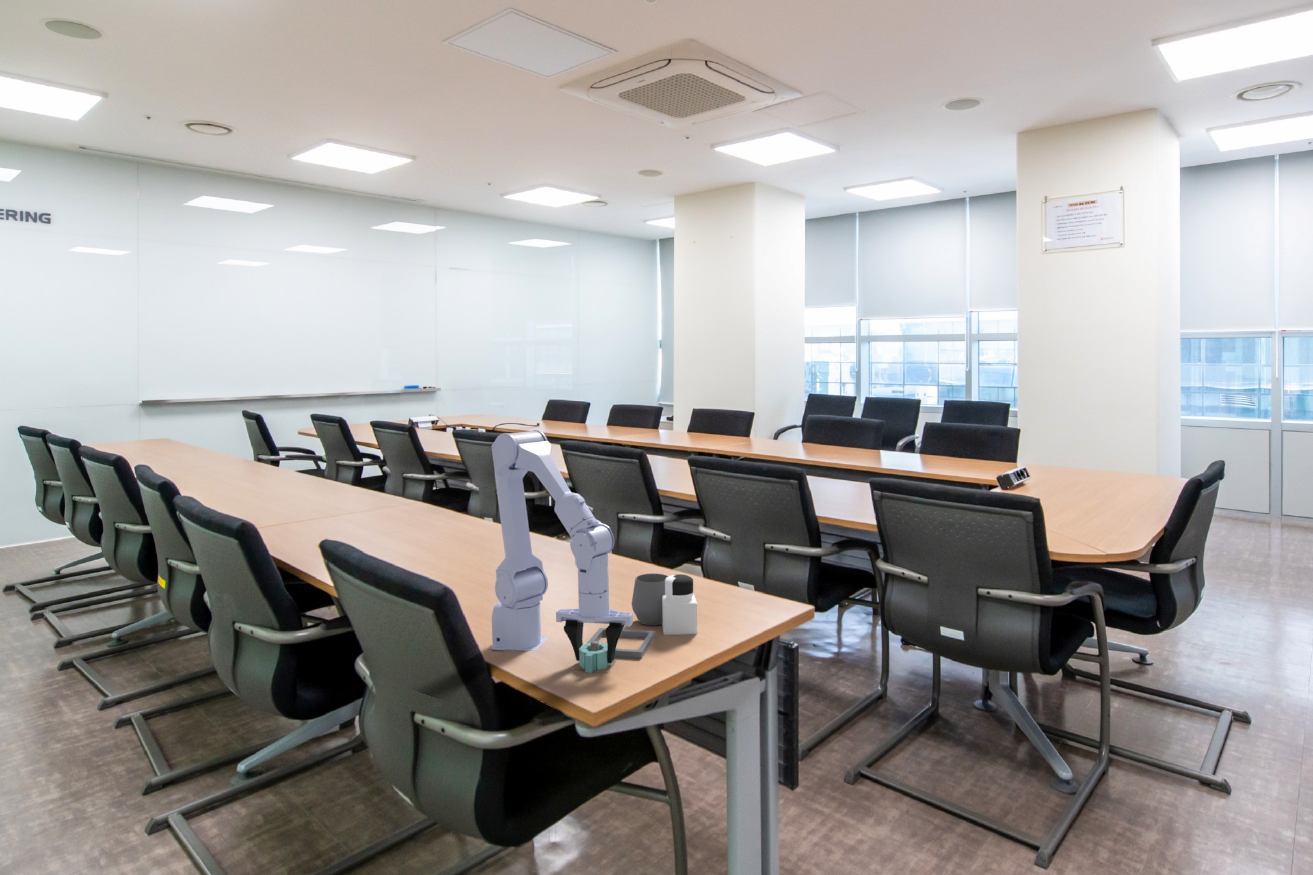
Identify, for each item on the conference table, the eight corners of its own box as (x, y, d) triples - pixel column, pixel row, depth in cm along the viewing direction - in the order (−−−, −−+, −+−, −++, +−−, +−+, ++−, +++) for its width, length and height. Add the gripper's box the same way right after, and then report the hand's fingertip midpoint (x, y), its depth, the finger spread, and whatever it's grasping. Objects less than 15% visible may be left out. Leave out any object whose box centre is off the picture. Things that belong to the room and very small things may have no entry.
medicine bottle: (694, 625, 168) (694, 571, 167) (697, 636, 160) (697, 580, 159) (662, 626, 167) (661, 572, 166) (663, 637, 160) (663, 581, 159)
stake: (571, 673, 142) (571, 648, 142) (583, 659, 149) (582, 635, 148) (607, 675, 140) (607, 650, 140) (618, 661, 147) (617, 637, 147)
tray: (582, 656, 150) (582, 648, 150) (600, 636, 162) (599, 627, 161) (641, 661, 147) (641, 652, 147) (655, 639, 159) (655, 631, 159)
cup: (637, 630, 165) (636, 585, 164) (627, 617, 174) (626, 574, 173) (679, 626, 167) (679, 581, 166) (667, 613, 176) (666, 570, 175)
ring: (585, 657, 148) (585, 641, 148) (613, 659, 147) (613, 643, 146) (574, 671, 141) (573, 654, 141) (603, 673, 140) (602, 656, 140)
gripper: (549, 594, 141) (551, 665, 142) (625, 598, 138) (626, 670, 139) (562, 583, 148) (564, 651, 149) (634, 587, 145) (636, 656, 146)
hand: (595, 660), depth 145 cm, fingers closed on ring, 6 cm apart
